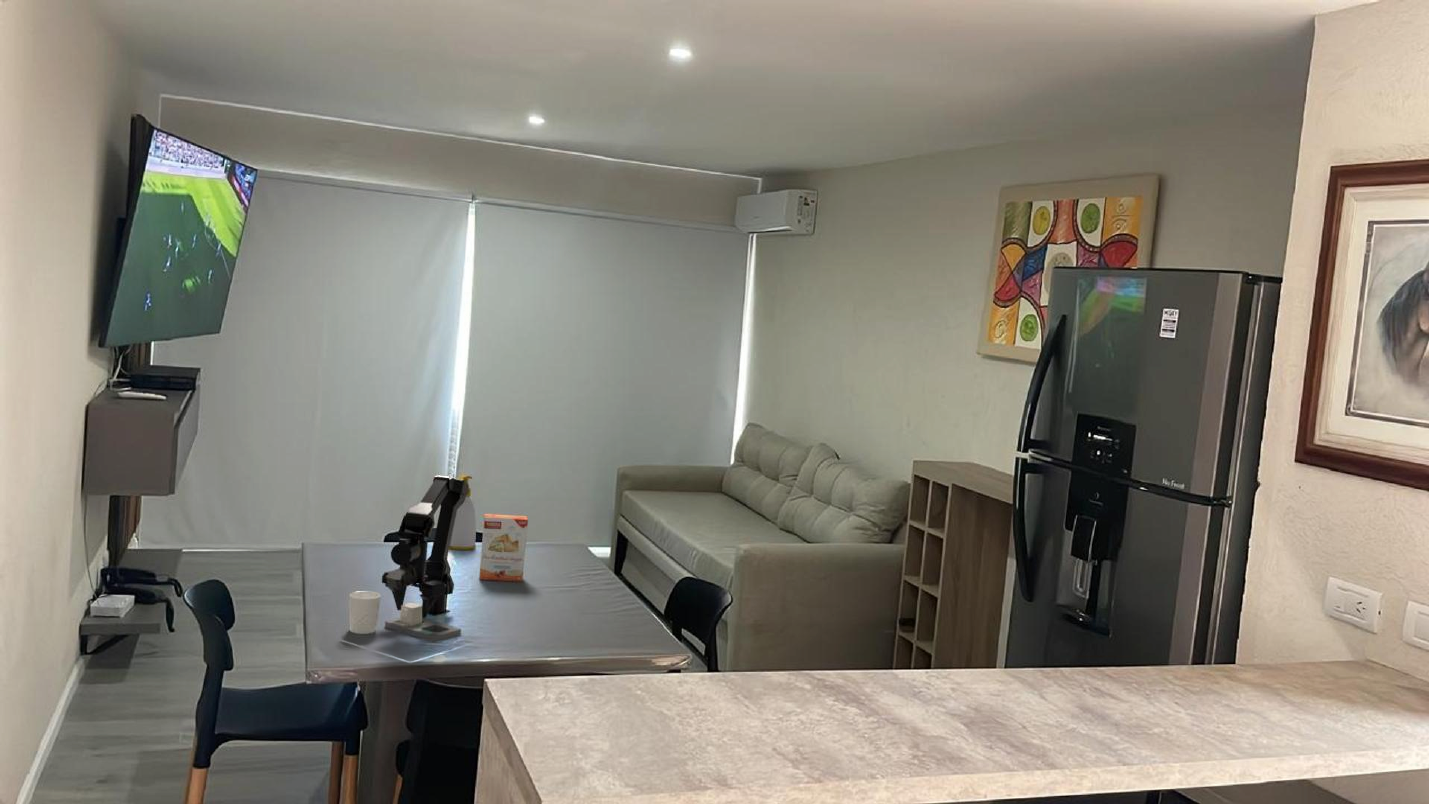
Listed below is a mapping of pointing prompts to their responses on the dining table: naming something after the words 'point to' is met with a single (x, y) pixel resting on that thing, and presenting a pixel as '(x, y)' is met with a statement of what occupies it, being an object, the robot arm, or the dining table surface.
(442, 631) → the gray socket board
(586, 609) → the dining table surface
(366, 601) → the white cup
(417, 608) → the plug
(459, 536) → the soap bottle
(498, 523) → the cracker box
